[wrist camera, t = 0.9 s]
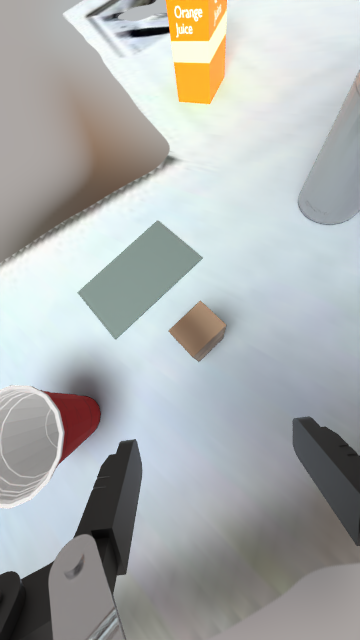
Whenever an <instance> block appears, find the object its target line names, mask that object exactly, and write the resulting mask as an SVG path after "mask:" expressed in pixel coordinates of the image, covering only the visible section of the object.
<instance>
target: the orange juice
mask: <svg viewBox="0 0 360 640" xmlns="http://www.w3.org/2000/svg"><path fill="white" fill-rule="evenodd" d="M166 4H167V12H168V20H169V28H170V35H171V45H172V53H173V61H174V66H175V74H176V82H177V89H178V97H179V102H190V103H203V104H210V103H211V101H212V99H213V97H214V95H215V93H216V92H217V90H218V88H219V86H220V84H221V82H222V80H223V78H224V69H225V39H226V18H227V0H166Z"/></svg>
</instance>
